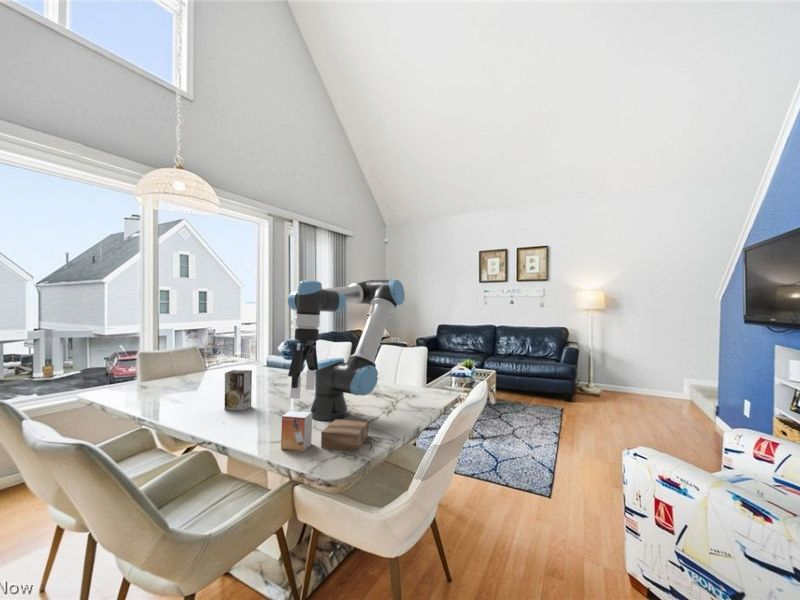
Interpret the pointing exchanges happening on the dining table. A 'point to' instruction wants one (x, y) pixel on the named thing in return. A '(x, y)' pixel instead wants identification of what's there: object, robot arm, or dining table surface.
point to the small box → (296, 430)
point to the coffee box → (238, 389)
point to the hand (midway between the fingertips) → (302, 393)
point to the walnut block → (344, 435)
